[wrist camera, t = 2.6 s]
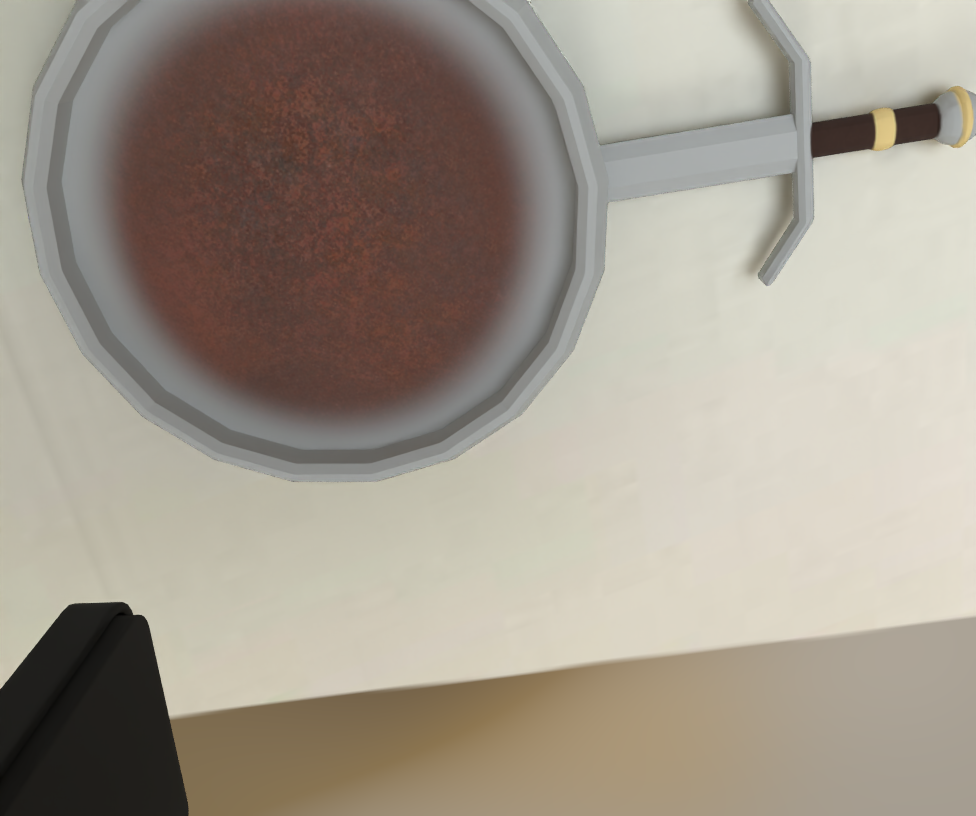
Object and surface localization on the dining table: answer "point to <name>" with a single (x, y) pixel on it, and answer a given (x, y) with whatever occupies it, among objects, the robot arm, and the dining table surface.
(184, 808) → the robot arm
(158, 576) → the dining table surface
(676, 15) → the dining table surface
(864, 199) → the dining table surface
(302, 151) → the frying pan
